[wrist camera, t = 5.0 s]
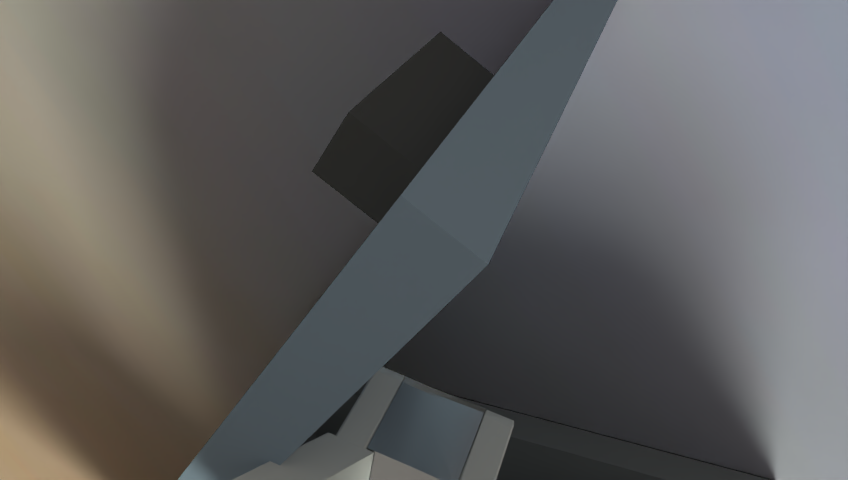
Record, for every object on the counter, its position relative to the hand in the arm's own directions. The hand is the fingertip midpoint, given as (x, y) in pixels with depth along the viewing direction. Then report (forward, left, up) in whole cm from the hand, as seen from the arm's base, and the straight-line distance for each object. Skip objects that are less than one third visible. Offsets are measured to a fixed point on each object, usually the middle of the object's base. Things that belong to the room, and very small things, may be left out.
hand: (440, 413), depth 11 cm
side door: (-4, 0, -7) cm, 8 cm away
